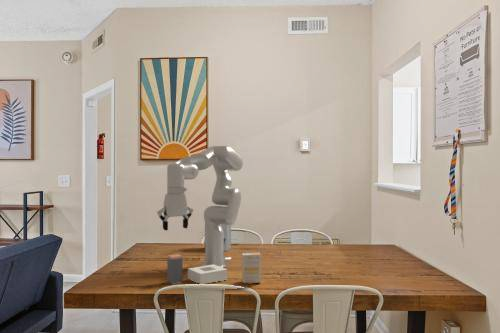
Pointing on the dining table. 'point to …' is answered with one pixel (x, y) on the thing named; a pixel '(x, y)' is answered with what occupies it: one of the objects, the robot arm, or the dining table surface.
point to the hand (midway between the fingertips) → (175, 228)
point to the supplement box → (251, 268)
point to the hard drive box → (226, 237)
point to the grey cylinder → (174, 268)
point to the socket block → (207, 274)
